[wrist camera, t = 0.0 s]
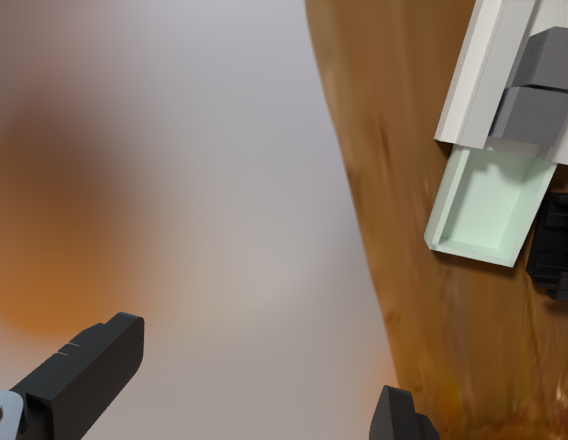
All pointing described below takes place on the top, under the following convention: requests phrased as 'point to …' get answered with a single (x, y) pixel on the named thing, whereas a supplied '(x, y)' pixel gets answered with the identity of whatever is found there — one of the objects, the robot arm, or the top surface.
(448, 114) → the slot board
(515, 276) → the top surface
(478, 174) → the tray
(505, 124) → the dark grey cube
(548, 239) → the end cap
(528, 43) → the grey cube block
